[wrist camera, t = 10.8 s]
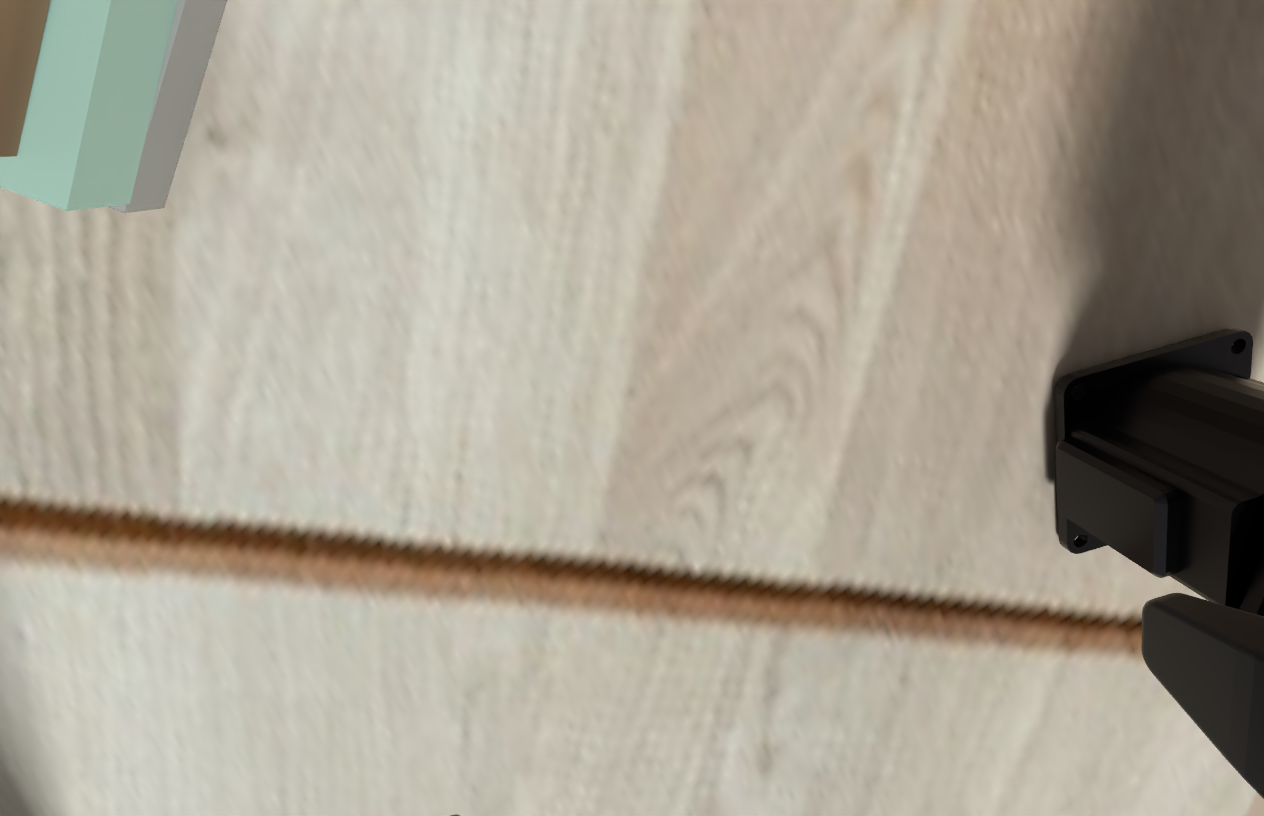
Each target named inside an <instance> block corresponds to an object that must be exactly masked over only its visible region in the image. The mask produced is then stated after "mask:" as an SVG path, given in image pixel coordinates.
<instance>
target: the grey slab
mask: <svg viewBox="0 0 1264 816" xmlns="http://www.w3.org/2000/svg"><path fill="white" fill-rule="evenodd" d="M226 2H227V0H178V1H177V5H176V10H175V14H174V18H173V23H172V27H171V31H170V35H169V40H168V44H167V48H166V52H165V57H164V61H163V65H162V69H161V74H160V78H159V82H158V86H157V91H156V95H155V99H154V104H153V108H152V112H151V116H150V121H149V125H148V129H147V133H146V138H145V142H144V146H143V150H142V155H141V159H140V163H139V167H138V172H137V176H136V180H135V185H134V189H133V193H132V197H131V202H130V204H124V205H115V206H108V207H110V208H113V209H115V210H117V211H120V212H122V213H130V212H137V211H145V210H152V209H160V208H164V207H165V203H166V200H167V197H168V193H169V190H170V187H171V183H172V180H173V177H174V174H175V170H176V167H177V164H178V160H179V157H180V154H181V150H182V147H183V144H184V141H185V137H186V134H187V131H188V127H189V124H190V121H191V117H192V114H193V111H194V108H195V104H196V101H197V98H198V94H199V91H200V88H201V84H202V81H203V78H204V75H205V71H206V68H207V65H208V61H209V58H210V55H211V52H212V48H213V45H214V42H215V38H216V35H217V32H218V28H219V25H220V22H221V19H222V15H223V12H224V9H225V5H226Z"/></svg>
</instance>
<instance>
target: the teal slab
mask: <svg viewBox="0 0 1264 816" xmlns="http://www.w3.org/2000/svg"><path fill="white" fill-rule="evenodd" d="M177 1H178V0H50V3H49V7H48V12H47V17H46V22H45V26H44V31H43V36H42V40H41V45H40V50H39V55H38V59H37V64H36V69H35V73H34V78H33V83H32V87H31V92H30V97H29V102H28V106H27V111H26V116H25V120H24V125H23V130H22V134H21V139H20V144H19V149H18V153H17V156H12V157H0V187H1V188H4V189H7V190H10V191H13V192H15V193H18V194H21V195H24V196H26V197H29V198H32V199H35V200H37V201H40V202H43V203H46V204H48V205H51V206H54V207H57V208H60V209H62V210H65V211H70V210H79V209H88V208H97V207H106V206H115V205H124V204H130V202H131V197H132V193H133V189H134V185H135V180H136V176H137V172H138V167H139V163H140V159H141V155H142V150H143V146H144V142H145V138H146V133H147V129H148V125H149V121H150V116H151V112H152V108H153V104H154V99H155V95H156V91H157V86H158V82H159V78H160V74H161V69H162V65H163V61H164V57H165V52H166V48H167V44H168V40H169V35H170V31H171V27H172V23H173V18H174V14H175V10H176V5H177Z"/></svg>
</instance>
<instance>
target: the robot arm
mask: <svg viewBox="0 0 1264 816" xmlns="http://www.w3.org/2000/svg"><path fill="white" fill-rule="evenodd" d="M1233 343H1234V344H1233ZM1232 344H1233V346H1232ZM1231 347H1232V348H1231ZM1252 347H1253V340H1252V336H1251V335H1250V333H1248V332H1246V331H1242V330H1237V329H1226V330H1222V331H1219V332H1215V333H1212V334H1208V335H1205V336H1201V337H1198V338H1194V339H1191V340H1187V341H1184V342H1180V343H1177V344H1173V345H1170V346H1166V347H1163V348H1159V349H1155V350H1152V351H1148V352H1145V353H1141V354H1138V355H1134V356H1131V357H1127V358H1124V359H1120V360H1117V361H1113V362H1110V363H1106V364H1103V365H1099V366H1096V367H1092V368H1089V369H1085V370H1082V371H1078V372H1075V373H1071V374H1068V375H1066V376H1064V377H1063V378H1062V379H1061V380H1060V381H1059V382H1058V384H1057V386H1056V389H1055V416H1056V483H1057V511H1058V525H1059V541H1060V544H1061V545H1062V546H1063V547H1064V548H1066V549H1067V550H1069V551H1070V552H1072V553H1075V554H1078V553H1083V552H1087V551H1090V550H1093V549H1096V548H1100V547H1103V546H1106V545H1109V546H1110V547H1112V548H1113V549H1115V550H1116V551H1118V552H1119V553H1121V554H1122V555H1124V556H1125V557H1127V558H1128V559H1130V560H1132V561H1133V562H1135V563H1136V564H1138V565H1139V566H1141V567H1142V568H1144V569H1145V570H1147V571H1148V572H1150V573H1152V574H1153V575H1155V576H1157V577H1159V578H1163V577H1166V576H1171V577H1172V578H1174V579H1175V580H1177V581H1178V582H1180V583H1182V584H1183V585H1185V586H1186V587H1188V588H1189V589H1191V590H1193V591H1194V592H1196V593H1197V594H1199V595H1200V596H1202V597H1204V598H1205V599H1207V600H1208V601H1207V600H1203V599H1200V598H1196V597H1193V596H1189V595H1186V594H1182V593H1172V594H1168V595H1165V596H1162V597H1159V598H1155V599H1152V600H1149V601H1148V602H1146V603H1145V605H1144V607H1143V611H1142V654H1143V658H1144V660H1145V663H1146V665H1147V666H1148V668H1149V669H1150V671H1151V672H1152V673H1153V674H1154V676H1155V677H1156V678H1157V679H1158V680H1159V681H1160V683H1161V684H1162V685H1163V686H1164V687H1165V688H1166V690H1167V691H1168V692H1169V693H1170V694H1171V695H1172V697H1173V698H1174V699H1175V700H1176V701H1177V702H1178V704H1179V705H1180V706H1181V707H1182V708H1183V709H1184V710H1185V712H1186V713H1187V714H1188V715H1189V716H1190V717H1191V719H1192V720H1193V721H1194V722H1195V723H1196V724H1197V726H1198V727H1199V728H1200V729H1201V730H1202V731H1203V733H1204V734H1205V735H1206V736H1207V737H1208V738H1209V740H1210V741H1211V742H1212V743H1213V744H1214V745H1215V747H1216V748H1217V749H1218V750H1219V751H1220V752H1221V754H1222V755H1223V756H1224V757H1225V758H1226V759H1227V760H1228V762H1229V763H1230V764H1231V765H1232V766H1233V767H1234V768H1235V769H1236V770H1237V771H1238V773H1239V774H1240V775H1241V776H1242V777H1243V778H1244V779H1245V780H1246V781H1247V782H1248V783H1249V784H1250V785H1251V786H1252V787H1253V788H1254V789H1255V790H1256V791H1257V792H1258V793H1259V794H1260V796H1262V798H1263V799H1264V383H1263V382H1260V381H1256V380H1253V379H1250V374H1251V361H1252ZM1075 386H1077V388H1076V391H1075V392H1074V394H1072V395H1071V392H1072V390H1073V388H1074V387H1075ZM1077 536H1078V538H1077V539H1076V540H1075V538H1076V537H1077ZM451 816H460V815H451Z"/></svg>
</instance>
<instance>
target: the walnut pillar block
mask: <svg viewBox="0 0 1264 816" xmlns="http://www.w3.org/2000/svg"><path fill="white" fill-rule="evenodd" d="M49 3H50V0H0V157H12V156H17V153H18V149H19V144H20V139H21V134H22V130H23V125H24V120H25V116H26V111H27V106H28V102H29V97H30V92H31V87H32V83H33V78H34V73H35V69H36V64H37V59H38V55H39V50H40V45H41V40H42V36H43V31H44V26H45V22H46V17H47V12H48V7H49Z"/></svg>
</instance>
